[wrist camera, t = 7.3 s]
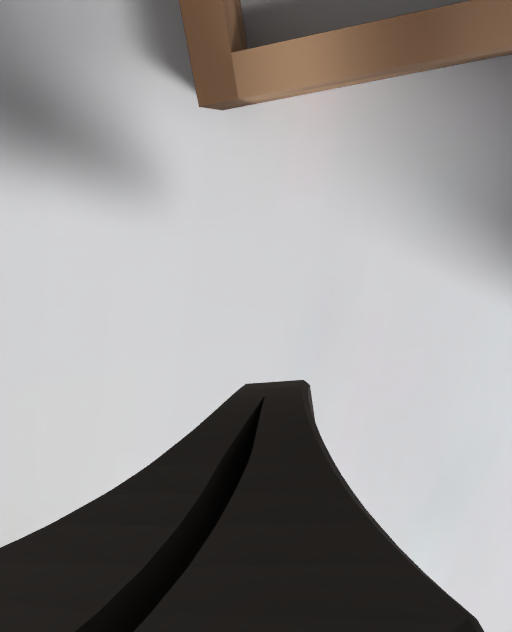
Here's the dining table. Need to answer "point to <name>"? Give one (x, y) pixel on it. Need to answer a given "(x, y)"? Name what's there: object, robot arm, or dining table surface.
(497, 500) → the dining table surface
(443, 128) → the dining table surface
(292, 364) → the dining table surface
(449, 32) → the frame
